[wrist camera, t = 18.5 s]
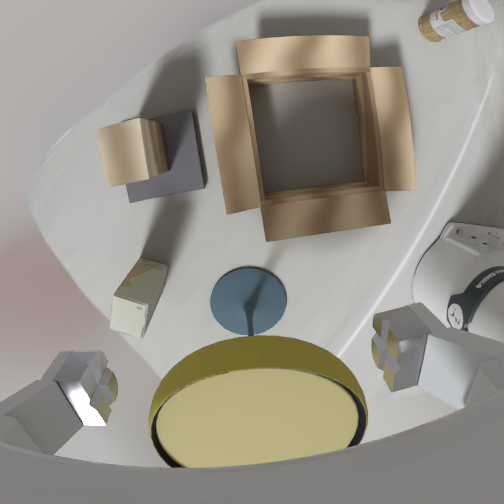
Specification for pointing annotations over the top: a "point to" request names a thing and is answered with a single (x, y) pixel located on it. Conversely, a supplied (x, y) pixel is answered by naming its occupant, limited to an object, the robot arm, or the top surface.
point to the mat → (174, 161)
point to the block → (133, 151)
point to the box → (137, 298)
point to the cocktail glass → (254, 389)
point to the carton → (370, 125)
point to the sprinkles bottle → (456, 19)
